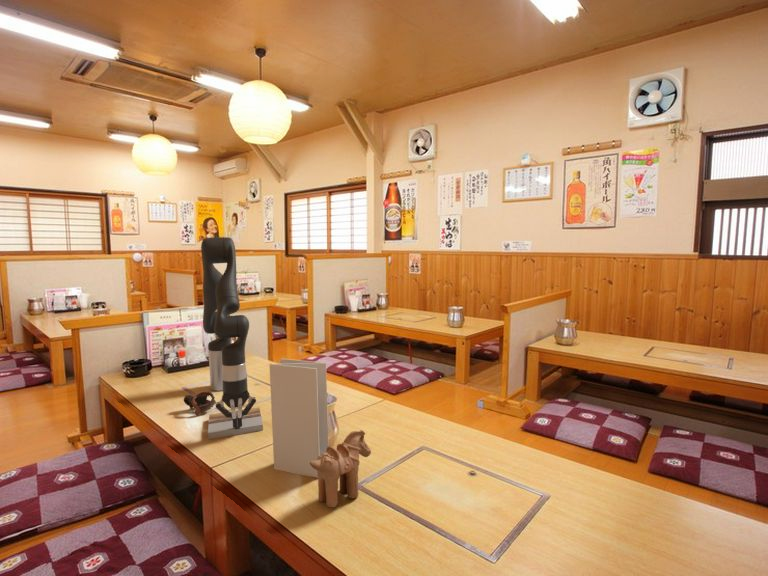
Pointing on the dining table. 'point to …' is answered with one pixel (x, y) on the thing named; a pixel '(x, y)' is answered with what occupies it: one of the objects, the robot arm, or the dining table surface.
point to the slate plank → (228, 430)
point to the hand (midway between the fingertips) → (237, 428)
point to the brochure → (298, 414)
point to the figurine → (340, 468)
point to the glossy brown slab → (222, 418)
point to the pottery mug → (200, 401)
